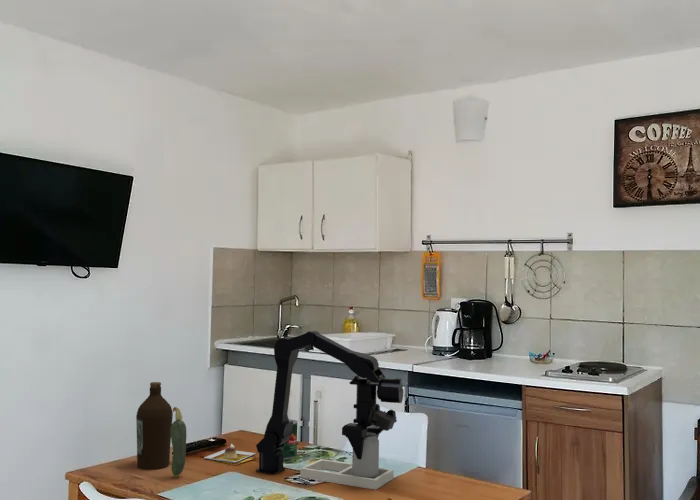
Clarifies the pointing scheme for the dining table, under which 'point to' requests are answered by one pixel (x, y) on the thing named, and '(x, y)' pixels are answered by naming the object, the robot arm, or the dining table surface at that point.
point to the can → (367, 458)
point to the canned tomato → (291, 443)
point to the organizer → (344, 474)
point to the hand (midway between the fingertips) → (365, 456)
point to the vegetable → (178, 443)
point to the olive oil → (154, 430)
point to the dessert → (229, 454)
